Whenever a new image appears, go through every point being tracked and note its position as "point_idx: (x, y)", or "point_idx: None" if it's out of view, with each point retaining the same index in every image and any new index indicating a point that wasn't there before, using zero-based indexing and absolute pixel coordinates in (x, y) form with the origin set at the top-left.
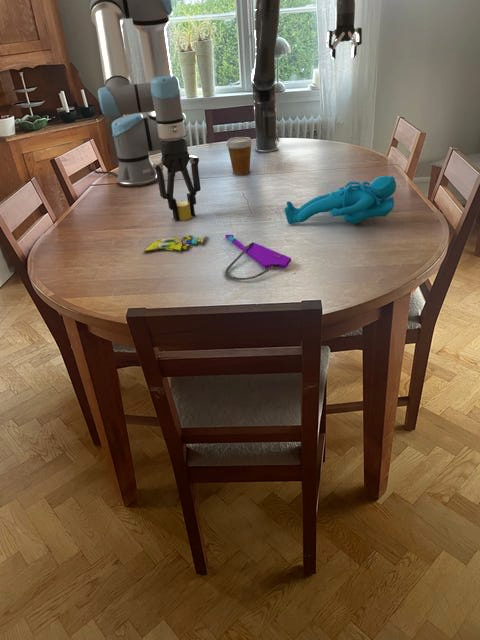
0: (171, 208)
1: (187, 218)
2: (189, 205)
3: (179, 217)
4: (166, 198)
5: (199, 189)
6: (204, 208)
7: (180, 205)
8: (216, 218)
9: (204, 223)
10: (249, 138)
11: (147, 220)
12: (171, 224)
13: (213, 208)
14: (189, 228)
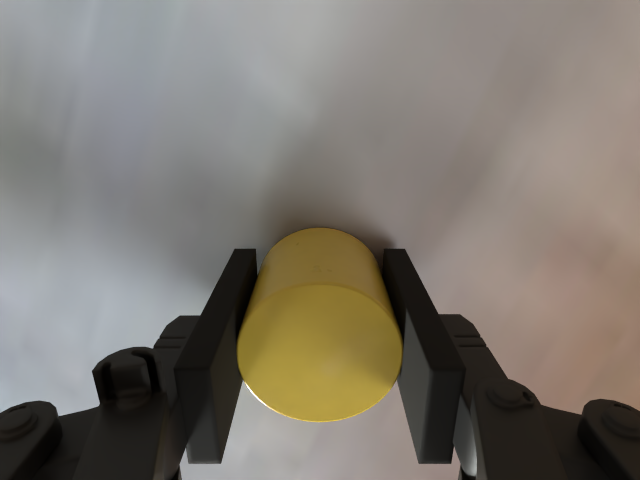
0: (459, 323)
1: (313, 231)
2: (258, 297)
3: (375, 263)
4: (567, 414)
5: (8, 414)
6: None
7: (354, 327)
8: (74, 91)
9: (214, 41)
10: None
11: (557, 395)
12: (465, 216)
13: (49, 322)
14: (384, 11)
